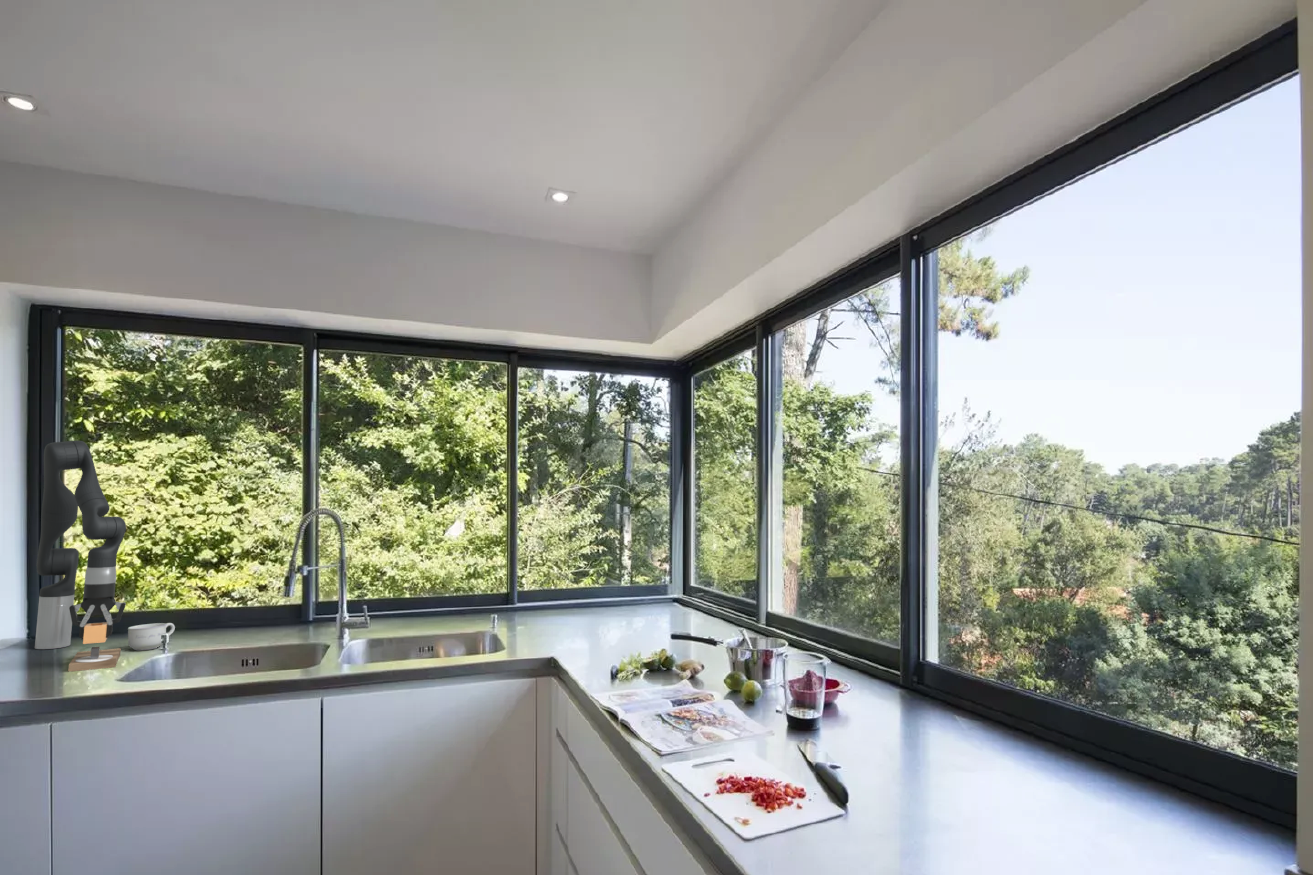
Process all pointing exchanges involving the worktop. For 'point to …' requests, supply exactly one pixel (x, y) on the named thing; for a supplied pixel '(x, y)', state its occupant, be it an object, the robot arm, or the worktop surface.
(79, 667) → the shaft board
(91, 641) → the orange block
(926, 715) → the worktop surface
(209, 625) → the worktop surface
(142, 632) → the teacup
